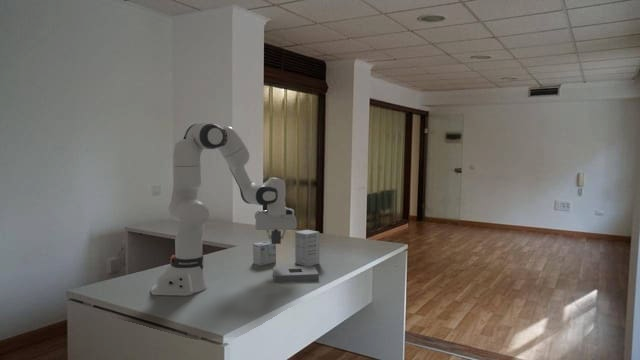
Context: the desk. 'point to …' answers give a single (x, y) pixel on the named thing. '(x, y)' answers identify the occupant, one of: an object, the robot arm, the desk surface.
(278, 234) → the plug
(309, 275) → the socket plate
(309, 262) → the supplement box
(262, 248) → the light bulb box
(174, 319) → the desk surface
